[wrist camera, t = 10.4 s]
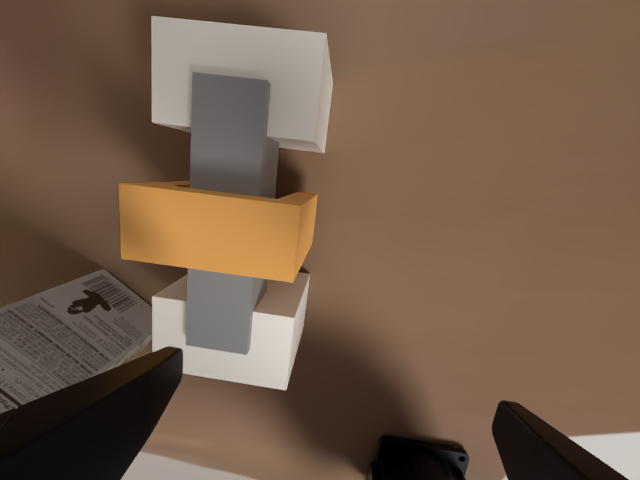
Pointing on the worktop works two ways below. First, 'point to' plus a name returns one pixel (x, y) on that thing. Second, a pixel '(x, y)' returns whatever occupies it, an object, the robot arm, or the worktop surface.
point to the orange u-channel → (216, 229)
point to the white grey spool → (237, 181)
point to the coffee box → (69, 336)
